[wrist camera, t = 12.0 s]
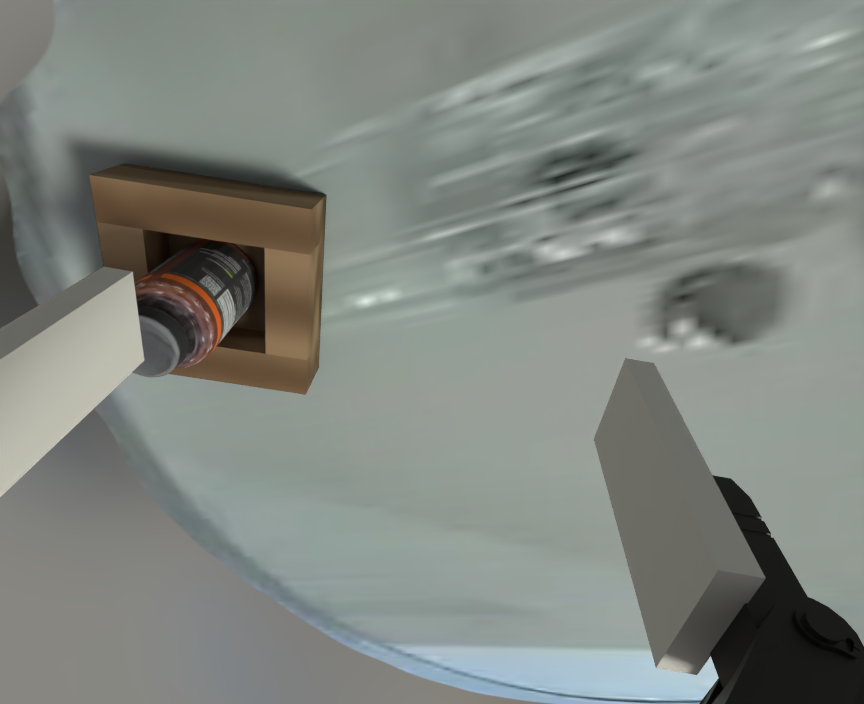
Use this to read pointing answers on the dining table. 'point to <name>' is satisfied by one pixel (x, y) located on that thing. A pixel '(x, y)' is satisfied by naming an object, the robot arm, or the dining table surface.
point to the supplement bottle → (192, 304)
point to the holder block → (244, 228)
